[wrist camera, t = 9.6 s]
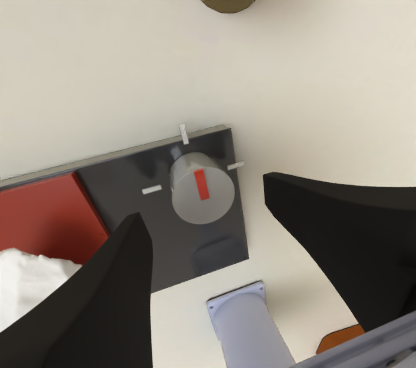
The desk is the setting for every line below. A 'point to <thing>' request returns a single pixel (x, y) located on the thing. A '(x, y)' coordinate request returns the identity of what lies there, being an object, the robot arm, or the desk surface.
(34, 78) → the desk surface
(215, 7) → the olive pawn
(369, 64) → the desk surface
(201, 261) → the hob
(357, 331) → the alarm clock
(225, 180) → the hob knob
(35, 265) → the white bottle
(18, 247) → the plate
